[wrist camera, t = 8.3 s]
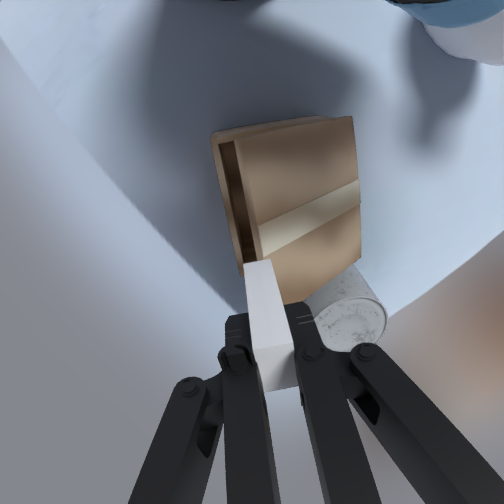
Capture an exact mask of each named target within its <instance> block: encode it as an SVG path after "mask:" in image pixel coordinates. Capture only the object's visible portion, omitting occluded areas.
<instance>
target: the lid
mask: <svg viewBox="0 0 504 504" xmlns="http://www.w3.org/2000/svg"><path fill="white" fill-rule="evenodd" d="M234 144H235V149H236V154H237V159H238V164H239V169H240V174H241V179H242V184H243V189H244V194H245V200H246V205H247V210H248V215H249V220H250V225H251V230H252V236H253V241H254V246H255V251H256V256H257V261H261V260H266V259H271V262H272V266H273V270H274V273H275V277H276V281H277V284H278V288H279V291H280V295H281V299H282V302H283V305H286V304H290V303H295V302H300V301H303V300H304V299H306V298H307V297H308V296H310V295H311V294H313V293H314V292H315V291H317V290H318V289H319V288H321V287H322V286H324V285H325V284H326V283H328V282H329V281H330V280H332V279H333V278H334V277H336V276H337V275H338V274H340V273H341V272H342V271H344V270H345V269H346V268H348V267H349V266H350V265H352V264H353V263H354V262H356V261H357V260H358V259H359V258H361V221H360V203H361V201H360V184H359V179H358V168H357V156H356V146H355V136H354V127H353V119H352V116H344V117H338V118H332V119H326V120H320V121H315V122H310V123H305V124H300V125H295V126H290V127H285V128H281V129H276V130H272V131H267V132H263V133H259V134H255V135H251V136H247V137H243V138H239V139H235V140H234Z"/></svg>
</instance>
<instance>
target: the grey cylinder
mask: <svg viewBox="0 0 504 504" xmlns="http://www.w3.org/2000/svg"><path fill="white" fill-rule="evenodd" d="M303 302H304V303H306V304H307V305H308V306H309V307H310V310H311V312H312V315H313V318H314V321H315V323H316V326H317V328H318V331H319V334H320V336H321V339H322V342H323V343H324V345H325V346H326V347H327V348H329V349H331V350H333V351H338V352H350V351H351V350H352V348H353V347H354V346H356V345H357V344H360V343H368V342H370V343H373V344H376V345H377V343H378V342H379V341H380V339H381V338H382V337H383V335H384V333H385V331H386V328H387V324H388V314H387V311H386V308H385V307H384V306H383V304H382V303H381V302H380V301H379V300H378V298H377V297H376V295H375V294H374V292H373V291H372V290H371V288H370V287H369V285H368V284H367V282H366V281H365V280H364V278H363V277H362V275H361V274H360V273H359V271H358V270H357V268H356V267H355V266H354V264H352V265H350V266H349V267H348V268H346V269H345V270H344V271H342V272H341V273H340V274H338V275H337V276H336V277H334V278H333V279H332V280H330V281H329V282H328V283H326V284H325V285H324V286H322V287H321V288H319V289H318V290H317V291H315V292H314V293H313V294H311V295H310V296H308V297H307V298H306V299H304V300H303Z"/></svg>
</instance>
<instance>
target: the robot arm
mask: <svg viewBox="0 0 504 504" xmlns="http://www.w3.org/2000/svg"><path fill="white" fill-rule="evenodd" d="M227 1H232V0H227ZM385 1H387V2H388V3H390V4H393V5H395V6H398V7H400V8H402V9H403V10H405V11H406V12H408V13H409V14H410V15H412V16H413V17H415V18H416V19H418V20H419V21H421V22H423V23H425V24H428V25H430V26H438V27H442V28H459V27H465V26H469V25H473V24H476V23H479V22H482V21H484V20H486V19H489V18H491V17H492V16H494V15H496V14H497V13H499V12H500V11H502V10H503V9H504V0H385ZM243 267H244V276H245V285H246V294H247V303H248V313H243V314H237V315H232V316H229V317H228V319H227V321H226V323H225V347H223V348H222V349H221V350H220V351H219V353H218V360H219V363H220V365H221V368H222V371H221V372H220V373H219V374H217V375H216V376H214V377H212V378H210V379H207V380H204V381H203V380H202V379H201V378H198V377H187V378H185V379H182V380H181V381H180V382H178V383H177V384H176V386H175V388H174V390H173V392H172V394H171V397H170V399H169V402H168V404H167V407H166V409H165V412H164V414H163V417H162V419H161V421H160V424H159V426H158V429H157V431H156V434H155V436H154V438H153V441H152V443H151V446H150V449H149V451H148V454H147V456H146V458H145V461H144V464H143V466H142V468H141V471H140V474H139V476H138V479H137V481H136V484H135V486H134V489H133V491H132V494H131V497H130V499H129V502H128V504H202V500H203V497H204V493H205V489H206V486H207V482H208V478H209V475H210V471H211V467H212V464H213V460H214V456H215V453H216V449H217V445H218V441H219V438H220V434H221V430H222V426H223V423H224V441H225V468H226V489H227V504H281V500H280V494H279V487H278V481H277V474H276V467H275V461H274V453H273V447H272V440H271V433H270V426H269V419H268V413H267V405H266V400H265V397H264V392H269V391H275V390H280V389H286V388H291V387H296V386H299V389H300V397H301V405H302V406H303V410H304V414H305V418H306V423H307V427H308V431H309V436H310V440H311V444H312V449H313V453H314V457H315V462H316V466H317V471H318V475H319V480H320V484H321V488H322V493H323V497H324V502H325V504H382V503H381V500H380V497H379V494H378V490H377V487H376V484H375V481H374V478H373V475H372V472H371V469H370V465H369V462H368V459H367V456H366V453H365V450H364V447H363V444H362V442H361V439H360V436H359V433H358V430H357V427H356V424H355V421H354V419H353V415H352V412H351V410H350V407H349V404H348V401H347V399H349V401H350V403H351V404H352V405H353V407H354V408H355V409H356V411H357V412H358V413H359V415H360V416H361V418H362V419H363V420H364V421H365V423H366V424H367V426H368V427H369V428H370V430H371V431H372V432H373V434H374V435H375V436H376V438H377V439H378V441H379V442H380V443H381V445H382V446H383V447H384V449H385V450H386V451H387V453H388V454H389V455H390V457H391V458H392V460H393V461H394V462H395V464H396V465H397V466H398V467H399V469H400V470H401V472H402V473H403V474H404V476H405V477H406V478H407V480H408V481H409V482H410V484H411V485H412V486H413V488H414V489H415V490H416V492H417V493H418V494H419V496H420V497H421V498H422V500H423V501H424V502H425V504H504V481H503V480H502V478H501V477H500V476H499V475H498V474H497V473H496V472H495V470H494V469H493V468H492V467H491V466H490V465H489V464H488V462H487V461H486V460H485V459H484V458H483V457H482V456H481V455H480V453H479V452H478V451H477V450H476V449H475V448H474V447H473V446H472V445H471V444H470V442H469V441H468V440H467V439H466V438H465V437H464V436H463V435H462V434H461V433H460V431H459V430H458V429H457V428H456V427H455V426H454V425H453V424H452V423H451V422H450V421H449V419H448V418H447V417H446V416H445V415H444V414H443V413H442V412H441V411H440V410H439V409H438V408H437V407H436V405H435V404H434V403H433V402H432V401H431V400H430V399H429V398H428V397H427V396H426V395H425V394H424V393H423V392H422V391H421V390H420V389H419V387H418V386H417V385H416V384H415V383H414V382H413V381H412V380H411V379H410V378H409V377H408V376H407V375H406V374H405V373H404V372H403V371H402V369H401V368H400V367H399V366H398V365H397V364H396V363H395V362H394V361H393V360H392V359H391V358H390V357H389V356H388V355H387V354H386V353H385V352H384V351H383V350H382V349H381V348H380V347H379V346H378V345H376V344H373V343H370V342H368V343H360V344H357V345H356V346H354V347H353V348H352V350H351V351H350V352H338V351H333V350H331V349H329V348H327V347H326V346H325V345H324V343H323V342H322V339H321V336H320V334H319V331H318V328H317V326H316V323H315V321H314V318H313V315H312V312H311V310H310V307H309V306H308V305H307V304H306V303H304V302H303V301H300V302H295V303H290V304H286V305H283V302H282V299H281V295H280V291H279V288H278V284H277V281H276V277H275V273H274V270H273V266H272V262H271V259H266V260H261V261H256V262H250V263H245V264H243Z"/></svg>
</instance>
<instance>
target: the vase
mask: <svg viewBox="0 0 504 504" xmlns="http://www.w3.org/2000/svg"><path fill="white" fill-rule="evenodd" d="M422 23H423V22H422ZM423 25H424V28H425V30H426V32H427V33H428V34H429V36H430V37H431V38H432V40H433V41H434V42H435V44H436V45H437V46H439V47H440V48H441V49H442V50H444V51H445V52H446V53H447V54H449V55H452V56H454V57H457V58H466V59H471V60H475V61H478V62H482V63H485V64H489V65H495V66H500V65H504V9H503V10H502V11H500V12H499V13H497V14H496V15H494V16H492V17H491V18H489V19H486V20H484V21H482V22H479V23H476V24H473V25H469V26H465V27H459V28H442V27H438V26H430V25H428V24H425V23H423Z"/></svg>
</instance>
